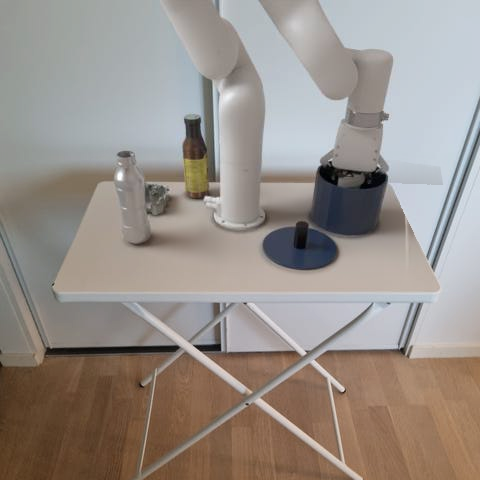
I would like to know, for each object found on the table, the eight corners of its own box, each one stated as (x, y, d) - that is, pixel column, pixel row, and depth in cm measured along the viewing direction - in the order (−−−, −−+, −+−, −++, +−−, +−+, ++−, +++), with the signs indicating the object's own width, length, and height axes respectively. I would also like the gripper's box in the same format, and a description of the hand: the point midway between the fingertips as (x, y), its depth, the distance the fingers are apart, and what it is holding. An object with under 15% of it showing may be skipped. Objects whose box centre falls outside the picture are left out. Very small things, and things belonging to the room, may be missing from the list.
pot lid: (255, 264, 100) (256, 238, 95) (270, 226, 112) (272, 201, 107) (331, 277, 97) (337, 251, 92) (339, 236, 109) (344, 211, 104)
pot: (306, 231, 110) (312, 184, 102) (315, 200, 122) (321, 155, 114) (375, 241, 107) (387, 194, 99) (377, 208, 119) (388, 164, 111)
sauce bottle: (213, 196, 122) (211, 118, 109) (192, 201, 120) (188, 123, 106) (201, 186, 126) (198, 110, 113) (181, 191, 124) (175, 114, 110)
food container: (358, 222, 107) (367, 181, 101) (332, 219, 108) (338, 178, 102) (359, 197, 116) (367, 159, 110) (334, 195, 117) (341, 156, 111)
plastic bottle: (137, 228, 109) (125, 145, 96) (158, 238, 107) (148, 153, 93) (117, 240, 106) (101, 155, 92) (138, 250, 103) (125, 164, 89)
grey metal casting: (161, 216, 114) (159, 201, 111) (132, 214, 115) (129, 198, 112) (172, 196, 122) (171, 181, 119) (145, 193, 122) (143, 179, 120)
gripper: (404, 115, 99) (385, 192, 111) (324, 107, 102) (314, 183, 114) (405, 127, 94) (384, 207, 106) (320, 118, 97) (310, 197, 109)
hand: (348, 194), depth 110 cm, fingers closed on food container, 6 cm apart
